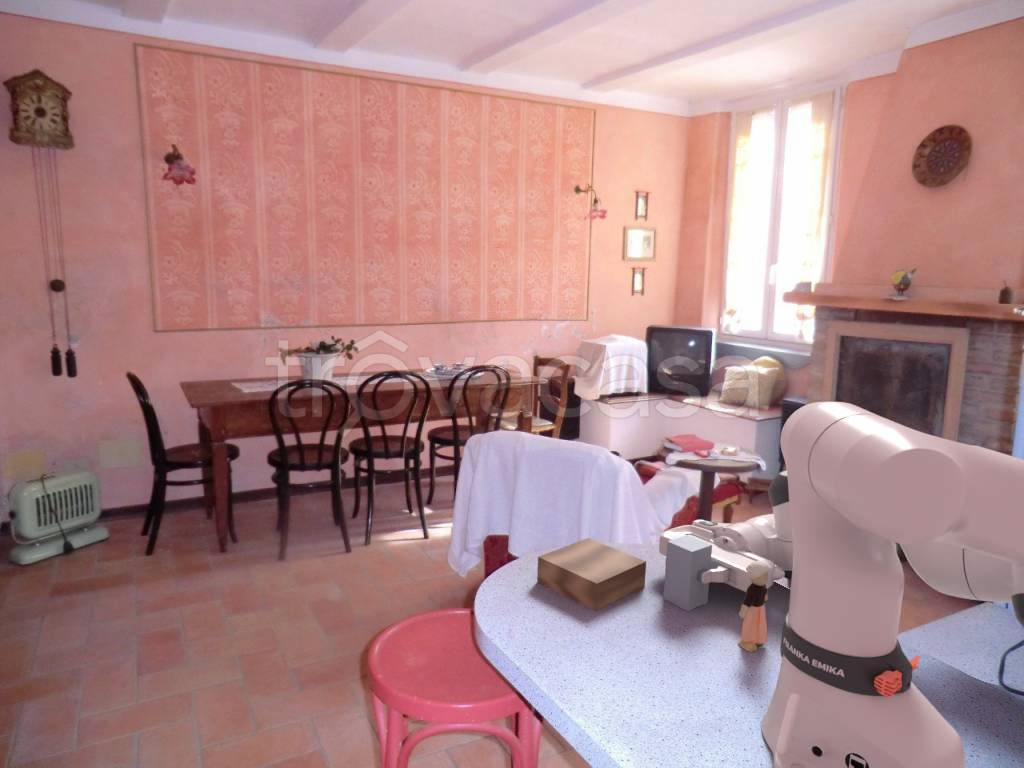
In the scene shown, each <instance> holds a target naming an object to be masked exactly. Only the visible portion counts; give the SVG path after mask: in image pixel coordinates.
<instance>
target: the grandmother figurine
mask: <svg viewBox="0 0 1024 768" xmlns="http://www.w3.org/2000/svg"><path fill="white" fill-rule="evenodd" d="M746 571H747V573H748V576H749V577H750V580H751V582H752V584H751V585H750V586H749V587H748V588H747V591H746V592H745V596H744V599H743V601H742V603H741V604H742V605H741V607H740V611H739V612H738V617H740V618H742V619H743V621H742V629H741V632H740V640H739V641H738V643H737V644H738V646H739V647H740V648H742V649H743V650H745V651H747V652H750V653H753V652H756V651H758V647H757V646H762V645H764V643H767V641H768V628H767V625H768V624H767V618H766V617H767V616H766V607H765V606H766V605H765V603H766V602H767V601H768V599H769V595H768V589H767V588H766V583H767V582H768V573H769V572H770V566H769V565H768V564H766V563H765V562H761V561H754V562H752V563H751V564H750V565H748V567H747V568H746Z"/></svg>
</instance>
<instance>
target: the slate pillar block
mask: <svg viewBox="0 0 1024 768" xmlns="http://www.w3.org/2000/svg"><path fill="white" fill-rule="evenodd" d="M711 554H712V545H711V544H709V543H706V542H704V541H701V540H699V539H696V538H694V537H692V536H689V535H685V536H682V537H679V538H676V539H673V540H670V541H667V555H666V556H665V562H666V565H665V574H664V587H663V599H664V600H666V601H667V602H669V603H671V604H674V605H675V606H676V607H679V608H681V609H683V610H684V611H687V612H689V611H692V610H694V609H695V608H699V607H700V606H704V605H706V604H708V602H709V592H710V591H709V589H710V582H709V583H706V584H704V583H702V582H700V581H698V580H697V572H698V570H701V569H703V568H705V569H708V570H710V566H711Z"/></svg>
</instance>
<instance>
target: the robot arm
mask: <svg viewBox="0 0 1024 768" xmlns="http://www.w3.org/2000/svg"><path fill="white" fill-rule="evenodd" d="M779 443H780V448H781V453H782V456H783V460H784V463H785V467H786V470H783V471H780V472H778V473H777V475H776V476H775V477H774V478H773V479H772V480H771V483H770V485H769V486H768V487H767V494H768V499H769V502H770V506H771V508H772V513H769V514H762V515H758V516H755V517H752V518H749V519H747V520H746V521H742V522H736V523H730V522H729V523H728V522H727V523H726V522H722V523H721V522H716V521H715V522H714V521H709V520H704V519H696V520H693V522H692V524H686V525H685V524H684V525H680V526H677V527H673V528H670V529H667V530H664V531H663V532H662V533H661V532H660V533H661V534H660V535H659V539H658V553H659V554H660V555H662V556H665V557H666V555H667V541H670V540H673V539H676V538H679V537H682V536H685V535H689V536H692V537H694V538H696V539H699V540H701V541H704V542H706V543H709V544H711V545H712V554H711V566H710V570H708V569H705V568H703V569H701V570H698V572H697V580H698V581H700V582H702V583H704V584H706V583H709V584H710V583H724V584H726V585H728V586H731V587H733V588H736V589H737V590H740V591H742V592H745V593H746V591H747V588H748V587H749V586H750V585H751V584H752V582H751V580H750V577H749V576H748V573H747V571H746V568H747V567H748V565H750V564H751V563H752V562H754V561H761V562H765V563H766V564H768V565H769V566H770V572H769V573H768V582H767V583H766V588H767V590H768V589H770V588H771V587H772V586H773V585H774V583H775V581H779V580H782V579H783V578H784V579H786V580H791V582H790V593H789V605H788V612H787V613H786V614H785V616H784V618H783V625H782V630H781V637H780V638H781V639H780V656H781V658H782V659H781V663H780V669H779V673H778V678H777V681H776V685H775V689H774V692H773V695H772V697H771V701H770V703H769V706H768V707H767V711H766V712H765V714H764V716H763V718H762V720H761V731H762V735H763V738H764V740H765V742H766V744H767V746H768V747H769V749H770V751H771V753H772V755H773V758H772V759H773V768H967V762H966V760H967V759H966V753H965V747H964V743H963V740H962V738H961V736H960V734H959V732H957V730H956V729H955V728H954V727H953V726H952V725H951V723H949V721H947V720H946V718H944V716H943V715H942V714H941V713H940V712H939V711H938V710H937V708H936V707H935V706H934V705H933V704H932V703H931V702H930V701H929V700H928V699H927V697H925V695H924V694H923V693H922V692H921V690H920V689H918V687H917V686H916V685H915V683H913V681H912V679H913V672H914V671H915V670H916V669H918V668H919V665H920V663H919V662H920V658H921V657H920V655H919V654H918V655H916V656H914V657H913V658H912V659H910V660H909V659H908V657H907V656H906V654H905V653H904V651H903V649H902V645H901V643H900V641H899V639H898V634H899V627H900V626H899V625H900V621H901V620H900V619H901V612H902V611H901V610H902V604H903V598H904V597H903V596H904V589H905V574H904V573H905V572H904V569H903V565H902V562H901V560H900V558H899V556H898V553H897V550H896V545H895V544H899V546H900V548H901V550H902V552H903V553H904V556H905V557H906V560H907V561H908V563H909V565H910V566H911V568H912V569H913V571H914V573H916V574H917V576H919V578H920V579H921V580H923V582H924V583H925V584H927V586H929V587H931V588H932V589H934V591H937V592H939V593H942V594H944V595H947V596H952V597H956V598H960V599H965V600H966V599H967V600H974V601H981V602H982V601H983V602H991V603H992V602H993V603H1002V604H1012V607H1013V612H1014V614H1015V615H1014V616H1015V618H1016V621H1017V622H1018V623H1019V624H1020V625H1021V626H1022V627H1023V628H1024V459H1022V458H1020V457H1016V456H1012V455H1009V454H1007V453H1002V452H999V451H996V450H993V449H989V448H987V447H982V446H980V445H974V444H973V445H972V444H968V443H967V444H966V443H963V442H959V441H958V442H957V441H955V440H951V439H946V438H943V437H939V436H936V435H931V434H929V433H925V432H923V431H919V430H916V429H914V428H911V427H908V426H905V425H904V424H901V423H898V422H895V421H893V420H890V419H888V418H886V417H883V416H880V415H878V414H876V413H874V412H871V411H869V410H867V409H864V408H862V407H860V406H858V405H855V404H852V403H850V402H849V403H848V402H843V401H817V402H812V403H808V404H805V405H803V406H801V407H800V408H798V409H796V410H795V411H794V412H793V413H792V414H791V415H790V416H789V417H788V418H787V420H786V422H785V423H784V425H783V427H782V430H781V434H780V442H779ZM664 564H665V566H666V561H665V563H664Z"/></svg>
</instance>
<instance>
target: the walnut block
mask: <svg viewBox="0 0 1024 768" xmlns="http://www.w3.org/2000/svg"><path fill="white" fill-rule="evenodd" d="M646 572H647V561H646V560H645V559H641V558H639V557H636V556H634V555H631V554H629V553H626V552H624V551H621V550H619V549H616V548H614V547H611V546H609V545H606V544H604V543H602V542H599V541H596V540H594V539H592V538H590V537H587V538H584V539H581V540H579V541H577V542H574V543H571V544H569V545H566V546H564V547H560V548H557V549H555V550H553V551H549V552H547V553H544V554H542V555H539V556H537V576H536V578H537V579H536V582H538V583H537V584H539V583H540V585H541V586H544V585H545V586H544V587H546V588H548V589H550V588H551V589H550V590H551V591H554V592H556V593H558V594H560V595H562V596H563V597H566V598H568V599H570V600H571V601H574V602H575V603H576V602H577V604H580V605H582V606H584V607H586V608H588V609H590V610H592V611H594V612H596V611H598V610H600V609H602V608H605V607H607V606H609V605H610V604H612V603H615V602H617V601H619V600H622V598H624V597H627V596H630V595H631V594H633V593H636V592H637V591H639V590H641V589H643V588H645V587H646V586H645V585H646Z"/></svg>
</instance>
